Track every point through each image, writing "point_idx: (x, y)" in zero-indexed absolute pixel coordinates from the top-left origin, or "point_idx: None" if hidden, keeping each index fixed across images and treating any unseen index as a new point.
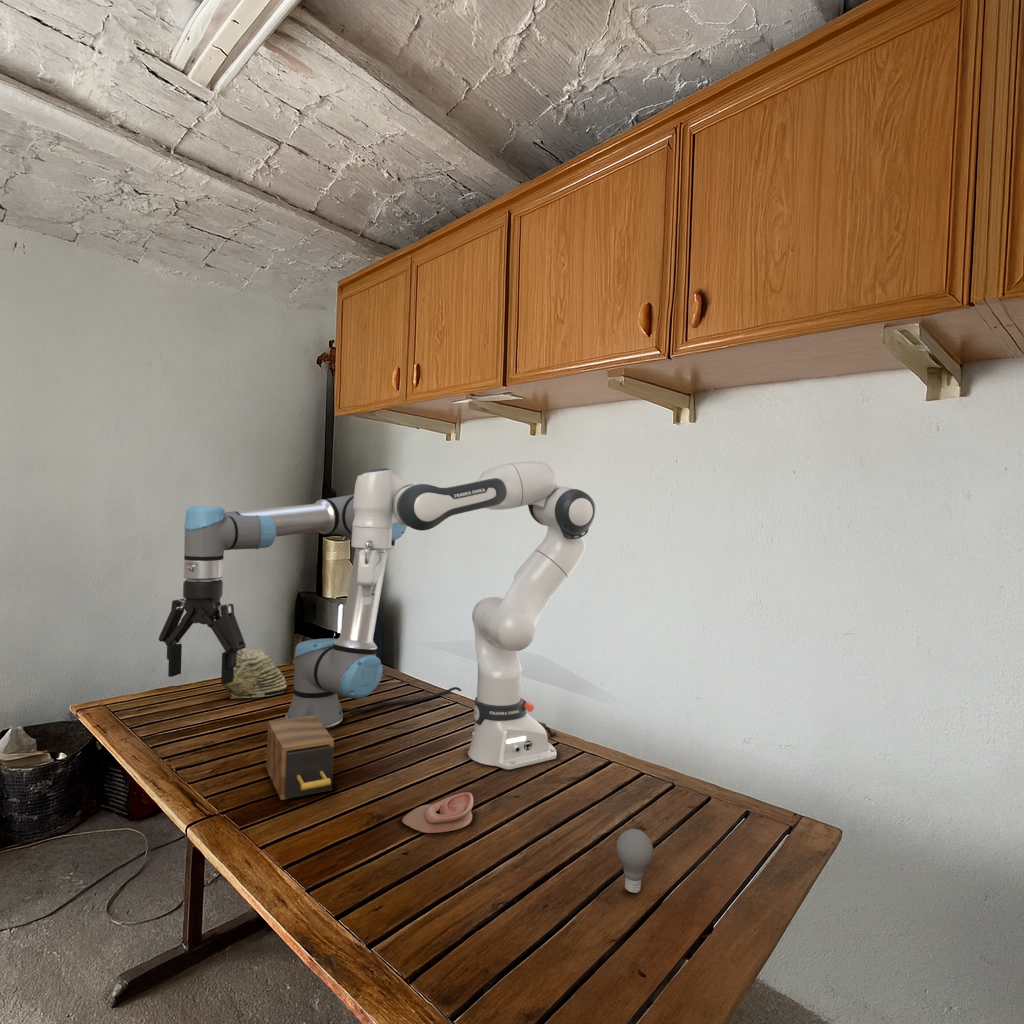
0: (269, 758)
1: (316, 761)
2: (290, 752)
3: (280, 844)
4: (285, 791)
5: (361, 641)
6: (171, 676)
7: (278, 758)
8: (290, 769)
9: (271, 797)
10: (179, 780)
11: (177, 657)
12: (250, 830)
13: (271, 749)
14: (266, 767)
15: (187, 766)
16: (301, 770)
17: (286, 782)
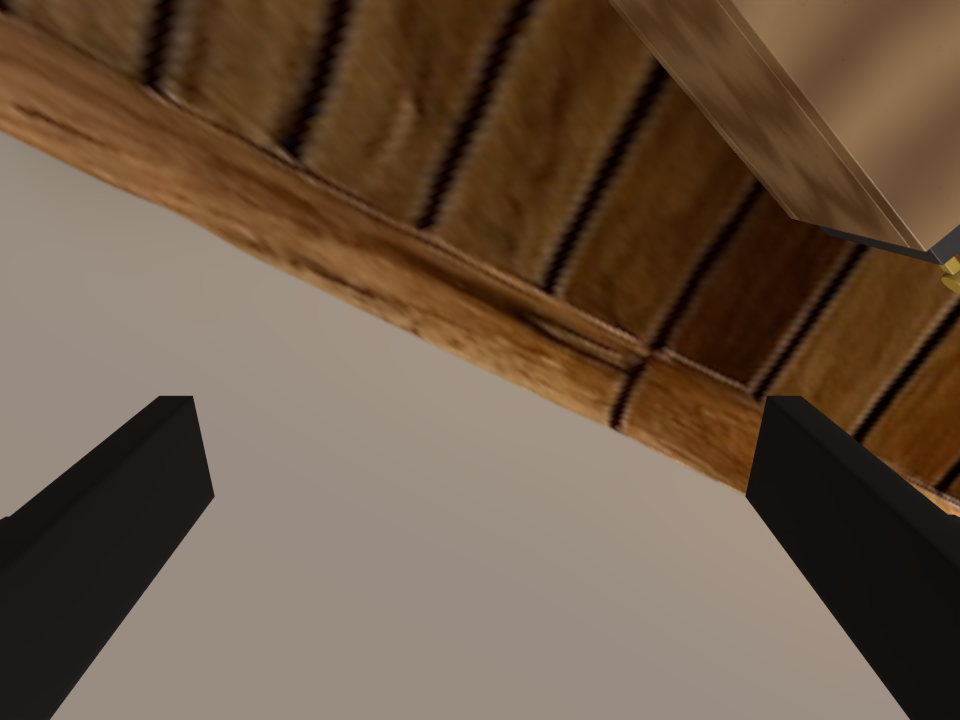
0: (668, 36)
1: None
2: (947, 236)
3: (894, 420)
4: (835, 234)
5: None
6: (211, 493)
7: (826, 184)
8: None
9: (750, 211)
10: (375, 222)
11: (96, 554)
12: (785, 393)
13: (714, 59)
14: (611, 2)
15: (301, 111)
16: None
17: (862, 243)
